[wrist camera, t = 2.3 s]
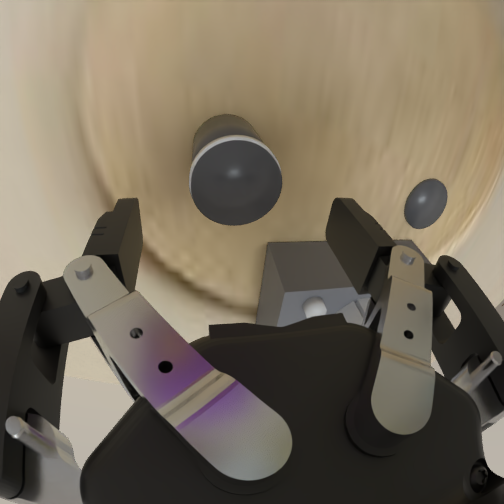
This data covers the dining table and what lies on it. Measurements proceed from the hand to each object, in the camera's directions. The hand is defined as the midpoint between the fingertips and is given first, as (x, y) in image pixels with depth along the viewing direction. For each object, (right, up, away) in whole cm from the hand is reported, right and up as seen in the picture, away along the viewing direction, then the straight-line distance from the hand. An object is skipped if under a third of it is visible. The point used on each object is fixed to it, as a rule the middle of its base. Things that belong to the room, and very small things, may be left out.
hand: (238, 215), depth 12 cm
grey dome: (+18, +4, +14) cm, 23 cm away
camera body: (+9, -5, +19) cm, 21 cm away
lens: (-1, +6, +8) cm, 10 cm away
